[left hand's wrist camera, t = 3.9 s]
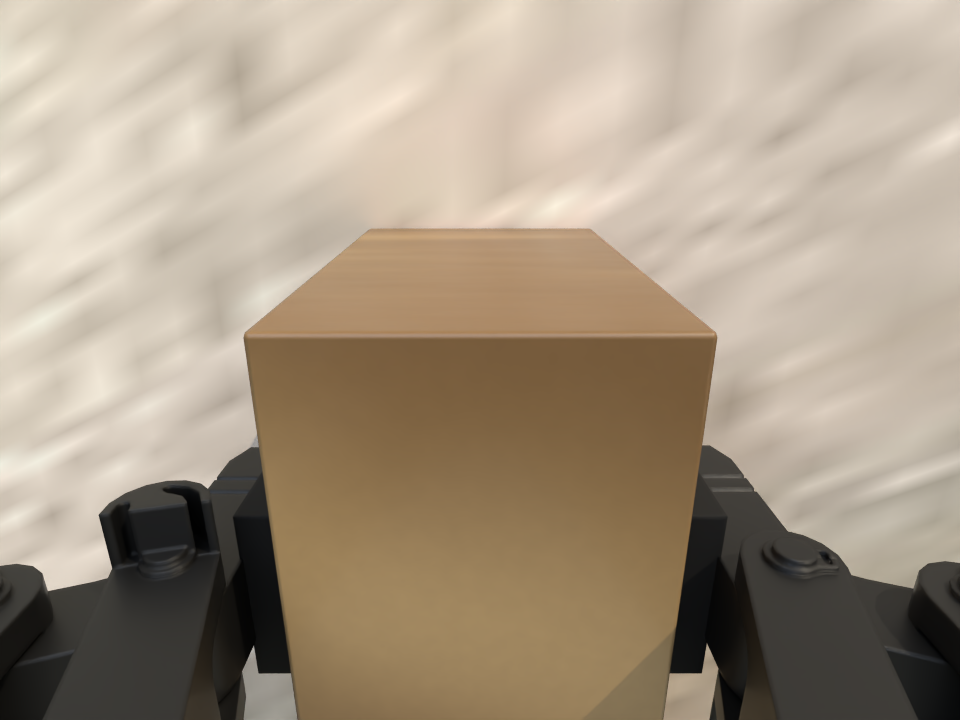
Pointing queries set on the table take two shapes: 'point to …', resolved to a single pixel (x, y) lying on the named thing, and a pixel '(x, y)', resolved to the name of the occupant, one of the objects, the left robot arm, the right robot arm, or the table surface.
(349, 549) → the beam
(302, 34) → the table surface
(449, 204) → the table surface
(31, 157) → the table surface
